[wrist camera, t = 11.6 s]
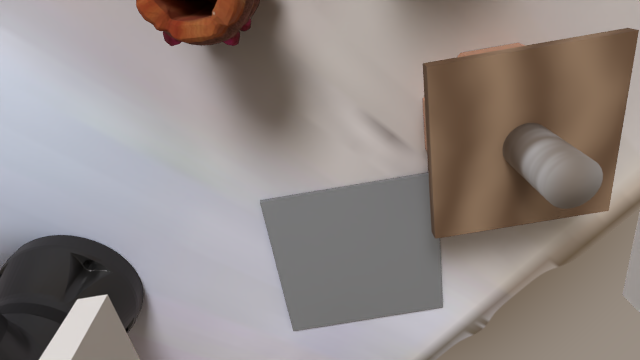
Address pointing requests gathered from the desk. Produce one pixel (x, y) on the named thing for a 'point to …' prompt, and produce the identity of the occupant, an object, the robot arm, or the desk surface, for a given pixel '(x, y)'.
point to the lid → (525, 131)
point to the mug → (199, 19)
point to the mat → (356, 251)
